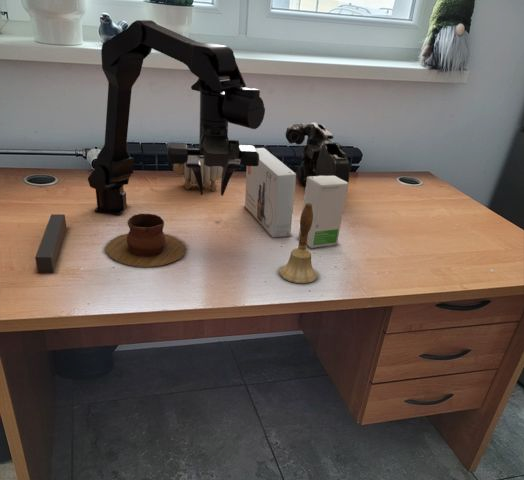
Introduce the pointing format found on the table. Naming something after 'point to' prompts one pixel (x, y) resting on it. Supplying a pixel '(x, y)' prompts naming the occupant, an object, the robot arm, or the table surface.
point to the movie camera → (318, 152)
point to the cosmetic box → (325, 209)
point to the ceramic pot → (145, 243)
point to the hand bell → (301, 254)
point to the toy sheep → (206, 172)
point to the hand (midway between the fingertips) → (211, 194)
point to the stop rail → (51, 244)
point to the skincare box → (271, 193)
